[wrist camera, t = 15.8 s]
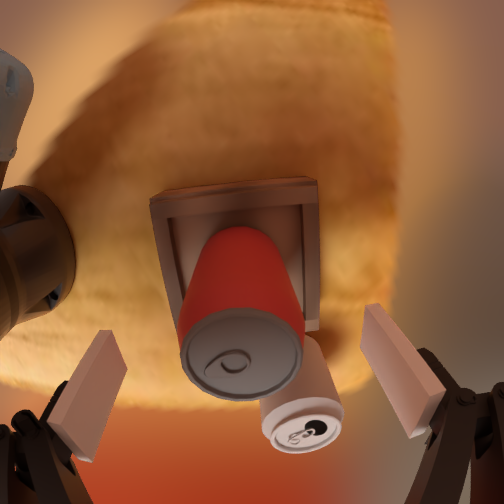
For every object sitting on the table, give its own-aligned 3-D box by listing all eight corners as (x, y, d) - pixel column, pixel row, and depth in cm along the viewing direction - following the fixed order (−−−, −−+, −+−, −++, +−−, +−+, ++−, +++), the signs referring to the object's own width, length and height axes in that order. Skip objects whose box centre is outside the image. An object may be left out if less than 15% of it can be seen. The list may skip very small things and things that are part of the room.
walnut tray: (185, 316, 30) (177, 346, 25) (162, 191, 25) (144, 201, 20) (310, 304, 30) (322, 332, 25) (305, 176, 25) (321, 182, 21)
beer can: (184, 248, 23) (139, 336, 12) (257, 209, 22) (277, 271, 11) (224, 311, 25) (217, 421, 14) (293, 278, 24) (333, 378, 13)
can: (329, 359, 33) (359, 436, 21) (274, 385, 34) (286, 465, 22) (303, 316, 30) (332, 399, 19) (242, 347, 31) (245, 434, 20)
